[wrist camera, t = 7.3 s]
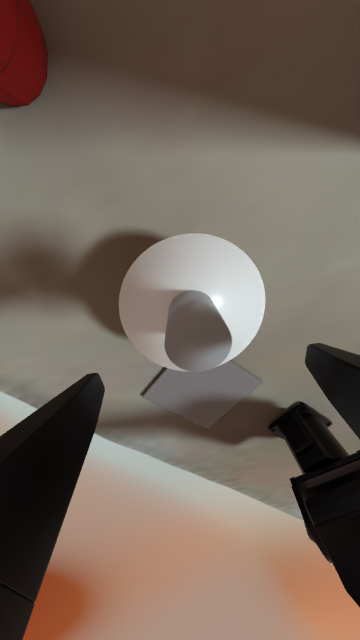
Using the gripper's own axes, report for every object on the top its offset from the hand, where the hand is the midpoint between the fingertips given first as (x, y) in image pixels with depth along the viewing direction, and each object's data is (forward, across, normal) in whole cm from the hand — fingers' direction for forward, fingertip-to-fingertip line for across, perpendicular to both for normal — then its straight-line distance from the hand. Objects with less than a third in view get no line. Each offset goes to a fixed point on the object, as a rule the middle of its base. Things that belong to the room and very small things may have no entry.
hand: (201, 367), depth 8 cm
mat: (+12, 0, +13) cm, 17 cm away
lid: (+7, 0, 0) cm, 7 cm away
